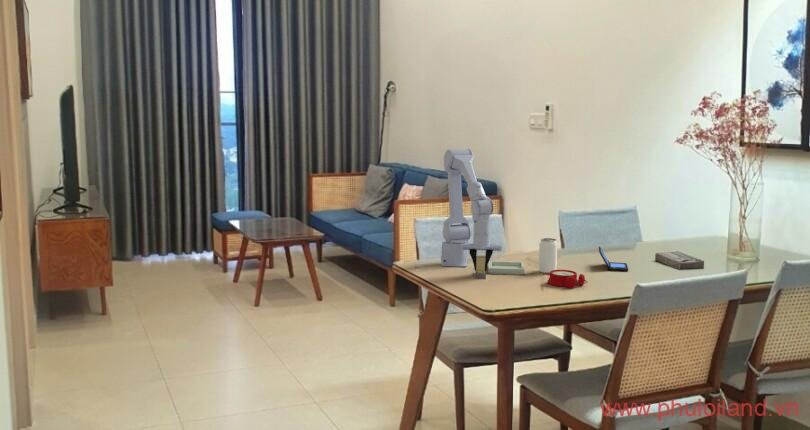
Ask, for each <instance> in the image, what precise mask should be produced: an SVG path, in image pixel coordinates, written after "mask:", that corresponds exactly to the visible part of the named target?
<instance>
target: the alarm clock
mask: <svg viewBox="0 0 810 430" xmlns="http://www.w3.org/2000/svg"><path fill="white" fill-rule="evenodd" d="M542 275H543V276H544V275H545V276H549V278H548V279H547V284H549V285H551V286H555V287H561V288H562V287H564V288H567V289H574V288H575V287H577V286H579V287H582V286H584V284H587V283H588V280H586V278H585V274H583V273H580V274H578V273H577V272H576V271H573V270H569V269H556V270H552V271H550V273H542ZM578 275H579V276H578ZM577 277H578V278H577Z"/></svg>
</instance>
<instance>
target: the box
mask: <svg viewBox="0 0 810 430" xmlns="http://www.w3.org/2000/svg"><path fill="white" fill-rule="evenodd" d="M654 256H655V258H654V260H655V261H658V262H660V263H663V264H665V265H668V266H670V267H672V268H675V269H678V270H690V269H691V270H695V269H696V270H697V269H704V268H705V261H704V260H702V259H700V258H697V257H694V256H691V255H688V254H686V253H683V252H681V251H667V252H666V251H664V252H655V255H654Z"/></svg>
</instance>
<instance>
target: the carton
mask: <svg viewBox="0 0 810 430" xmlns="http://www.w3.org/2000/svg"><path fill="white" fill-rule="evenodd" d="M485 260H486V254H477V258H476V271H475V273H477V270H478V271H484V274H485Z"/></svg>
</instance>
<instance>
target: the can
mask: <svg viewBox="0 0 810 430" xmlns="http://www.w3.org/2000/svg"><path fill="white" fill-rule="evenodd" d="M538 245H539V246H538V247H539V248H538V272H540V273H542V274H550V271H552V270H557V265H558V264H557V261H558V259H557V258H558V242H557V239H556V238H551V237H543V238H540V242H539V243H538Z"/></svg>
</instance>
